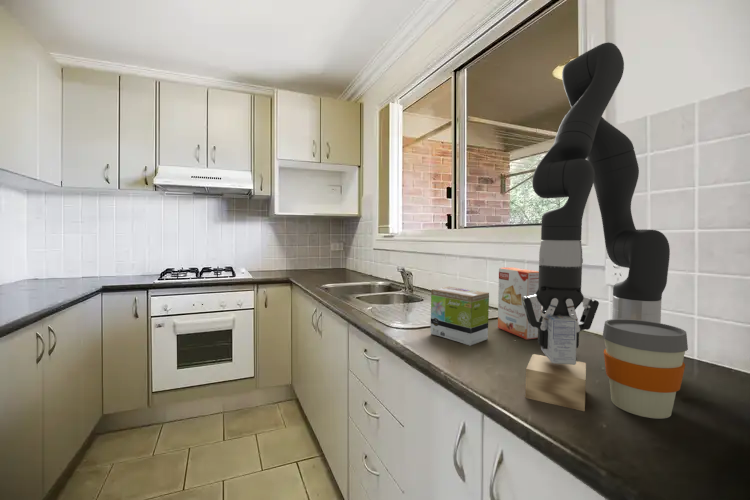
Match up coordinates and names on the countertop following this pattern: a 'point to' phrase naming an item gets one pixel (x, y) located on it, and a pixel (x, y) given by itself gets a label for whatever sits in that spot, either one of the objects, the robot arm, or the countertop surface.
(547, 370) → the oak block
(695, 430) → the countertop surface
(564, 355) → the medicine box
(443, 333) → the tea box
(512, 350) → the countertop surface
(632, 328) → the reusable coffee cup
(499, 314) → the cracker box
